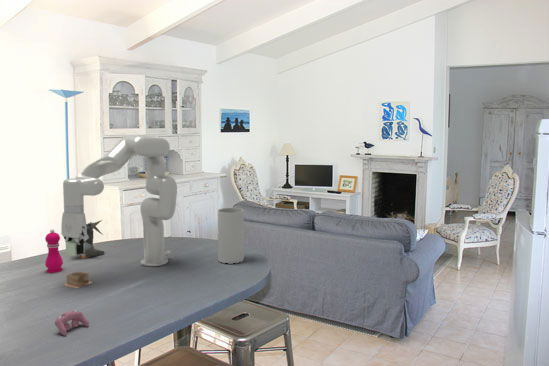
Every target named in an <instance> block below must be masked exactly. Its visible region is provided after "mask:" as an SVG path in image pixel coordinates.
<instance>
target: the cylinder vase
mask: <svg viewBox="0 0 549 366" xmlns="http://www.w3.org/2000/svg"><path fill="white" fill-rule="evenodd" d="M244 211H245V209H243V208H241V207H224V208H220V209H219V208H218V209H217V251H218V252H217V256H218V257H217V259H218V261H219V263H221V262H222V264H225V263H228V264H227V265H232V264H233V263H236V264H240V263H242V262H243V261H244V259H245V226H244V225H245V221H244V220H245V212H244ZM239 262H240V263H239ZM233 265H234V264H233Z"/></svg>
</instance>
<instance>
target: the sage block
mask: <svg viewBox="0 0 549 366" xmlns="http://www.w3.org/2000/svg"><path fill="white" fill-rule="evenodd" d="M76 245H78V244H77V240H72V241H68V242H65V254H66V255H68V256H73V257H74V256H78V255H77V248H76ZM84 253H85V252H84Z"/></svg>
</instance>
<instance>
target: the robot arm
mask: <svg viewBox="0 0 549 366" xmlns="http://www.w3.org/2000/svg"><path fill="white" fill-rule="evenodd" d="M170 145H171V144H170V143H169V141H168V140H167V139H165V138H164V137H152V136H151V137H150V136H140V135H139V136H138V135H126V136H124V137H123V138H121V139H120V140H119V141H118V142H117V143H116V144H115V145H114V146H113V147H112V148H111V149H110V150H109V151H108V152H107V153H106V154H105V155H104V156H103V157H101V158H99V159H96V161H94V162H92V163H89V164H88V165H87V166H86V167H85V168H83V169H82V170H81V171H80V172H79V173H78V174H77V175H76V177H75V178H67V179H64V180H63V182H62V190H63V193H62V194H63V197H62V198H63V212H62V216H61V225H60V226H61V233H60V234H61V235H62V237H63V239H64V241H65V243H66V242H68V241H72V240H73V238H76V240H77V244H78V245H76V248H77V255H76V256H78V255H82V254H83V253H84V244H85V241H86V240H87V239H88V238H89V236H88V235H87V227H86V224H87V220H86V214H85V207H84V205H85V204H84V203H85V202H84V200H85V199H84V197H85V196H91V197H93V196H98V195H101V193H103V191H104V189H105V184H104V182H103V181H102V179H100V178H101V177H104V176H106V175H109V174H113V173H115V172H118V171H120V170H121V169H122V168H123V167H124V166H125V165H126V164H127V163H128V162H129V161H130V159H132V158H133V157H134V156H139V157H142V156H143V157H144V158H145V160H146V167H147V168H146V169H147V170H146V179H145V191H146V192H147V193H148V194H150V195H153V196H154V195H155V196H159V198H158V197H153V196H152V197H146V198H144V199H143V200H142V202H141V204H140V209H139V210H140V214H141V219H142V228H143V229H142V232H143V234H142V235H143V258H142V259H141V260H140V264H141V265H142V266H145V267H160V266H163V265H166V264H168V263H169V259H168V258H167V256H169V255H171V251H170V250H167V251H165V233H164V232H165V229H164V228H165V226H164V222H163V221H169V220H171V219H172V218H173V216H174V215H175V212H176V207H177V199H178V198H177V197H178V196H177V195H178V184H177V182H176V179H174V178H173V177H171V176H170V175H169V176H168V175H166V173H167V172H166V170H167V169H166V168H167V167H166V166H167V164H166V160H165V156H167V155H168V153H169V152H170V148H171V147H170ZM80 236H81V237H80ZM79 238H81V240H80V239H79Z"/></svg>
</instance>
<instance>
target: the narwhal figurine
mask: <svg viewBox="0 0 549 366" xmlns="http://www.w3.org/2000/svg"><path fill="white" fill-rule="evenodd" d="M102 221H103V219H101V220H98V221H95V222H92V221H91V222H88V223H86V227H87V235H88V236H89V238H88V239H87V240H86V241H85V244H84V252H85V253H83V254H81V260H83V259H85V258H87V259H88V258H93V257H98V256H103V255H105V251H104V250H101V249H98V248H97V249H96V248H95V247H94V230H95V231H96V232H98V233H99V234H101V235H102V236H104V234H103V233H102V232H101V231H100V230H99V228H98V227H97V225H99V223H100V222H102ZM80 237H81V236H80ZM79 239H80V240H81V238H79ZM73 240H76V238H73Z"/></svg>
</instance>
